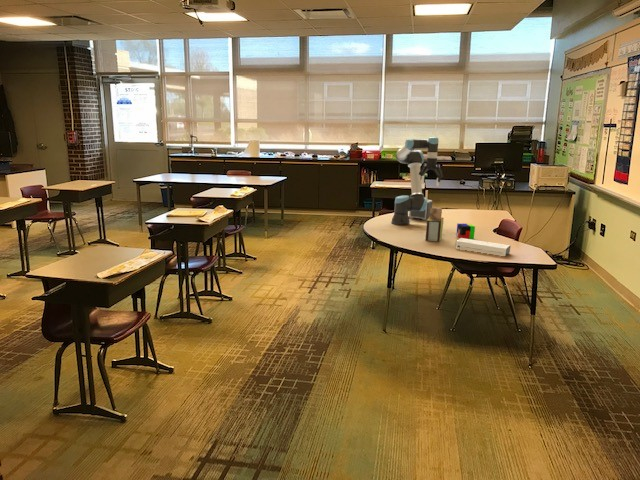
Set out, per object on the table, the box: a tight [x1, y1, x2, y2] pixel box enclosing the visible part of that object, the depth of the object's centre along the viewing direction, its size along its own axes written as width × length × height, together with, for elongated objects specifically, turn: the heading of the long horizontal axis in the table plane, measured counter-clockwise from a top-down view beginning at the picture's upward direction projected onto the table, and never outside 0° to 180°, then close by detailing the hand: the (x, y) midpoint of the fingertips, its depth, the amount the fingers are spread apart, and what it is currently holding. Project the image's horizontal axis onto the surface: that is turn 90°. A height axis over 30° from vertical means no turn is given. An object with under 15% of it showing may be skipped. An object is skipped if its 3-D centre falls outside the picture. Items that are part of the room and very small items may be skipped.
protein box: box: [425, 217, 444, 243], centre depth 371 cm, size 10×15×16 cm
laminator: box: [455, 238, 511, 257], centre depth 341 cm, size 34×12×6 cm, turn 57°
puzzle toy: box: [455, 223, 476, 240], centre depth 378 cm, size 10×10×10 cm
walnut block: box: [430, 206, 443, 220], centre depth 368 cm, size 6×6×8 cm
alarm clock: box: [408, 198, 433, 222], centre depth 443 cm, size 18×13×18 cm
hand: (429, 185), depth 389 cm, fingers open, 13 cm apart
